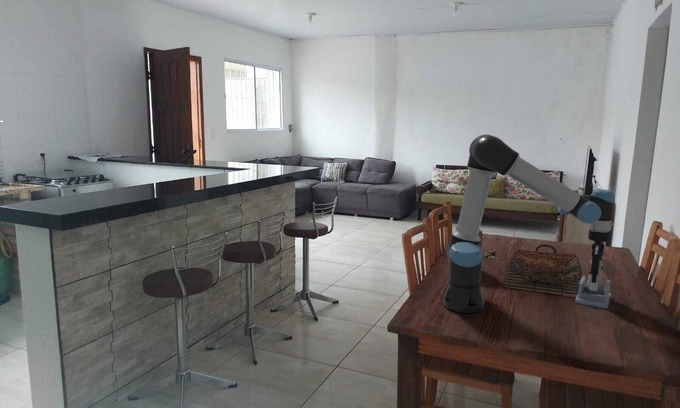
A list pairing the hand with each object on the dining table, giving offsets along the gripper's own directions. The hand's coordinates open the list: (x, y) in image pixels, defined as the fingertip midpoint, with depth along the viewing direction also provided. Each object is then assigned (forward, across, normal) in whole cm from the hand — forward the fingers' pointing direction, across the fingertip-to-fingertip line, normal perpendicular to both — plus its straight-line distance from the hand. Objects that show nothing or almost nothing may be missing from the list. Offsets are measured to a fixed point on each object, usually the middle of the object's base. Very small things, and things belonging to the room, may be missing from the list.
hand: (594, 287), depth 190 cm
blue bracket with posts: (+5, 0, 0) cm, 5 cm away
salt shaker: (+2, 0, 0) cm, 2 cm away
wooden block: (+5, +10, +54) cm, 55 cm away
